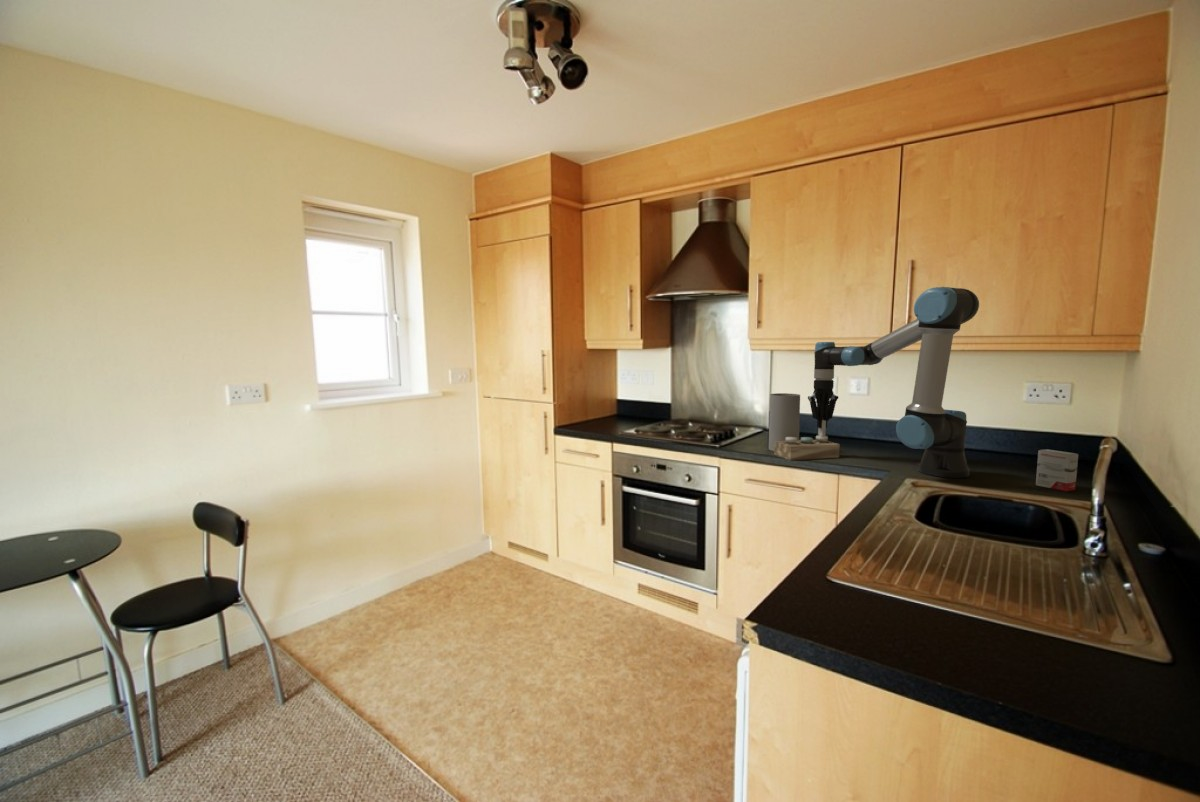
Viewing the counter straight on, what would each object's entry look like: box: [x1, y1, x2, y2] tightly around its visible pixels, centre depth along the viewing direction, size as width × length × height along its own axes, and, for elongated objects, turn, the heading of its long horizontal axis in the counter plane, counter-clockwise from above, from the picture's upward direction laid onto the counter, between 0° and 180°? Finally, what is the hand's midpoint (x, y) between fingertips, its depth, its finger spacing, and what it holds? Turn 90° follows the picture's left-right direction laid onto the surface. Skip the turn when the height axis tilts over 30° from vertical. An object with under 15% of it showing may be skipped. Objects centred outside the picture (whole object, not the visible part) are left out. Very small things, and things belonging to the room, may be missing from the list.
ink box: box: [1035, 449, 1079, 492], centre depth 161 cm, size 8×5×12 cm, turn 23°
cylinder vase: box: [768, 392, 801, 452], centre depth 223 cm, size 12×12×25 cm
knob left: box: [785, 437, 797, 445], centre depth 209 cm, size 5×5×8 cm
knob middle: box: [800, 436, 813, 444], centre depth 211 cm, size 5×5×8 cm
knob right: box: [815, 434, 829, 443], centre depth 212 cm, size 5×5×8 cm
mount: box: [773, 438, 841, 461], centre depth 211 cm, size 12×22×6 cm, turn 101°
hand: (821, 435), depth 212 cm, fingers closed
